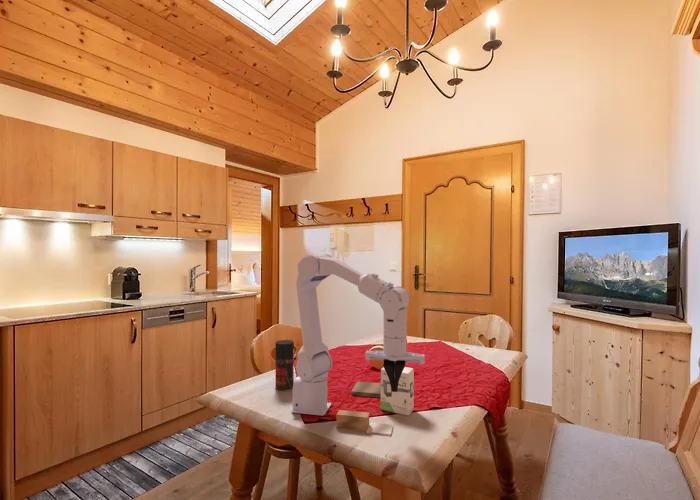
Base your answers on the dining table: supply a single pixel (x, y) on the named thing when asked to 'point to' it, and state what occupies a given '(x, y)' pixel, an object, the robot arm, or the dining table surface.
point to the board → (367, 389)
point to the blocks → (361, 423)
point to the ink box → (398, 393)
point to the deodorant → (284, 365)
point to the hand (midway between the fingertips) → (394, 390)
